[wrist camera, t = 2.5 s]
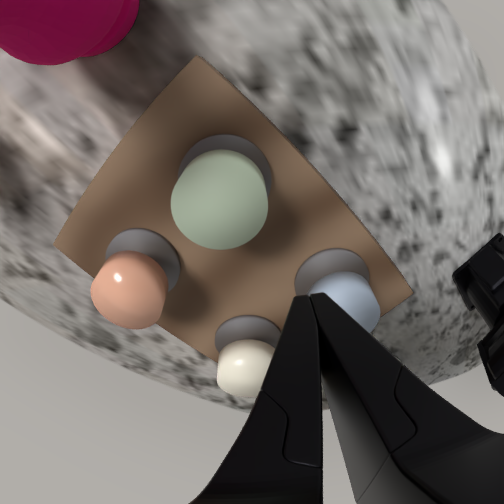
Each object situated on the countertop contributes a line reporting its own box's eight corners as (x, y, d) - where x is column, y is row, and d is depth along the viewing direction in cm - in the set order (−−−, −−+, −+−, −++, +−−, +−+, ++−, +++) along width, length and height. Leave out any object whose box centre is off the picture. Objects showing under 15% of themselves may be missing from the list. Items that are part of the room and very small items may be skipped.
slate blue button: (382, 298, 20) (392, 318, 18) (330, 334, 21) (336, 355, 20) (346, 258, 18) (356, 278, 16) (290, 300, 20) (293, 323, 18)
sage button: (283, 192, 16) (288, 207, 14) (223, 245, 18) (221, 265, 16) (220, 131, 14) (216, 139, 13) (162, 192, 16) (152, 208, 14)
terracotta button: (182, 282, 19) (177, 303, 17) (143, 318, 20) (136, 339, 19) (125, 236, 17) (113, 255, 15) (91, 279, 19) (79, 298, 17)
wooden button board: (402, 274, 24) (416, 297, 22) (262, 368, 30) (263, 393, 28) (202, 57, 16) (194, 54, 14) (67, 228, 22) (49, 248, 19)
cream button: (290, 358, 23) (293, 380, 21) (248, 383, 24) (248, 403, 22) (248, 330, 21) (249, 352, 19) (206, 358, 22) (203, 380, 21)
